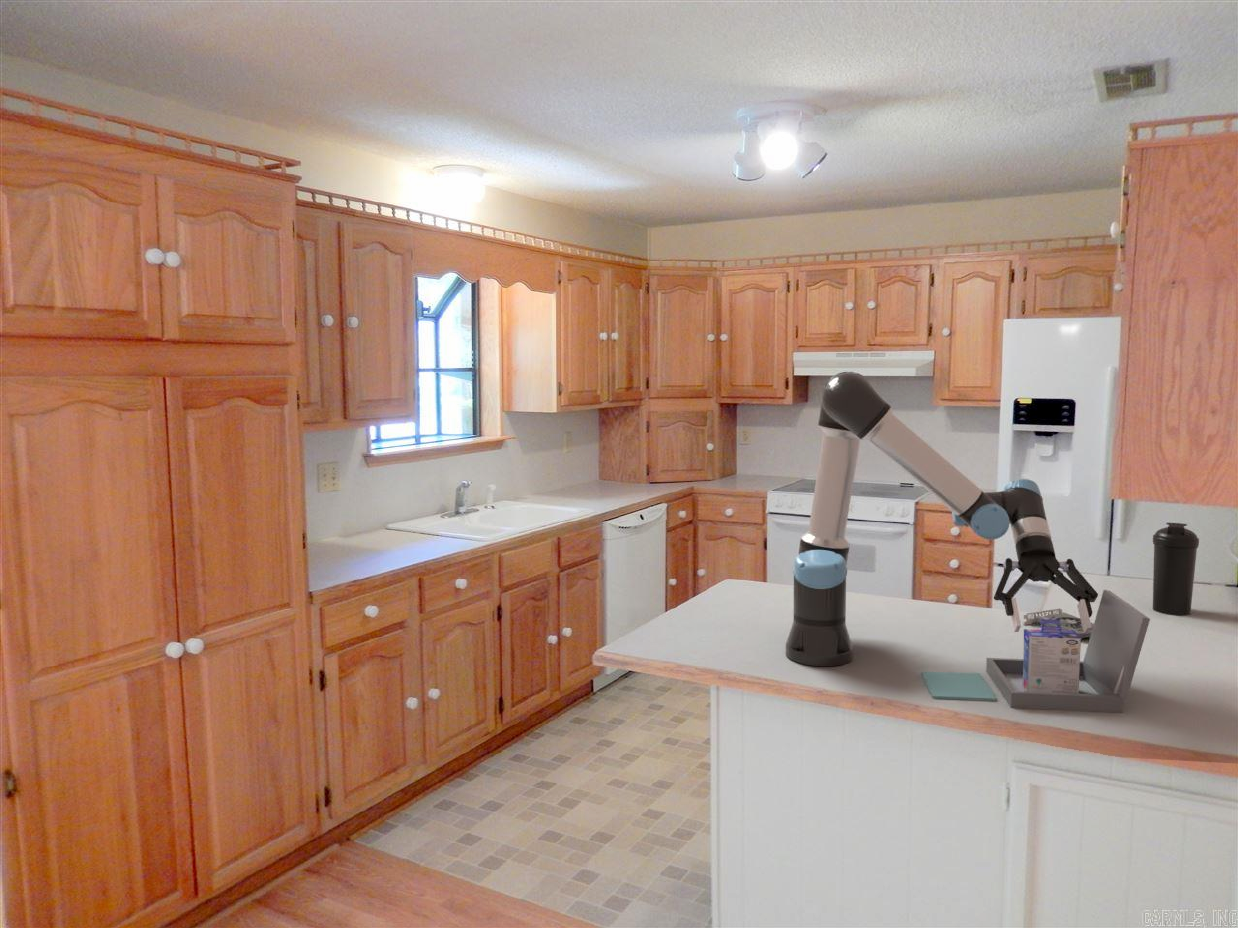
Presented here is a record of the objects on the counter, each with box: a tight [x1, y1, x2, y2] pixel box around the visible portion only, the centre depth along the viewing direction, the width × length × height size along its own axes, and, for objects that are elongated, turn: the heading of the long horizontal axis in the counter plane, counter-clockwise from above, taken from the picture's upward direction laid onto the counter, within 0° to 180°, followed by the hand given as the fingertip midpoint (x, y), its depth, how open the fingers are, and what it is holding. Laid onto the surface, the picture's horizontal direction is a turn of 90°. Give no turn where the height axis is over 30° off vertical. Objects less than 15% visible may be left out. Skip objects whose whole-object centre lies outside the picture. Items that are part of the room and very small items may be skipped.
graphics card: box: [1023, 608, 1094, 639], centre depth 217 cm, size 17×4×12 cm
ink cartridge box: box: [1022, 619, 1082, 694], centre depth 179 cm, size 10×6×14 cm, turn 78°
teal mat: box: [920, 670, 997, 702], centre depth 183 cm, size 12×14×1 cm
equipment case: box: [985, 589, 1151, 714], centre depth 178 cm, size 24×20×19 cm
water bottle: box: [1152, 522, 1200, 616], centre depth 231 cm, size 10×10×23 cm
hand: (1052, 629), depth 183 cm, fingers open, 13 cm apart
